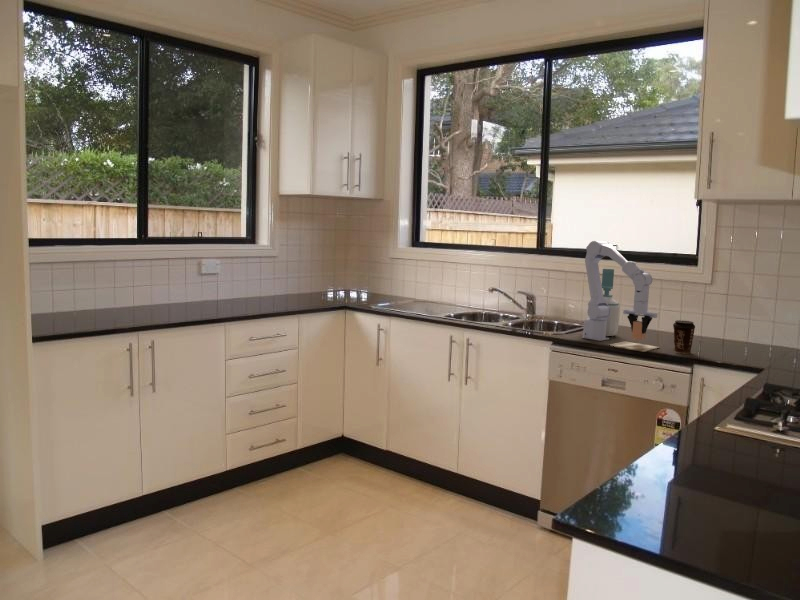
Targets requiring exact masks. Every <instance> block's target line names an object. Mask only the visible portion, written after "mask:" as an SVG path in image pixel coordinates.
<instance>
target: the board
mask: <svg viewBox="0 0 800 600" xmlns="http://www.w3.org/2000/svg"><path fill="white" fill-rule="evenodd" d="M609 345H610V346H609V347H613V346H614V347H615V348H619V349H626V350H631V351H637V352H643V353H644V352H645V353H646V352H648V351H654V350H658V349H657V348H659V349H660V348H661V347H660V346H655V345H649V344H643V343H639V342H631V341H620V342H616V343H610V344H609ZM614 347H613V348H614ZM653 349H654V350H653Z"/></svg>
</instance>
